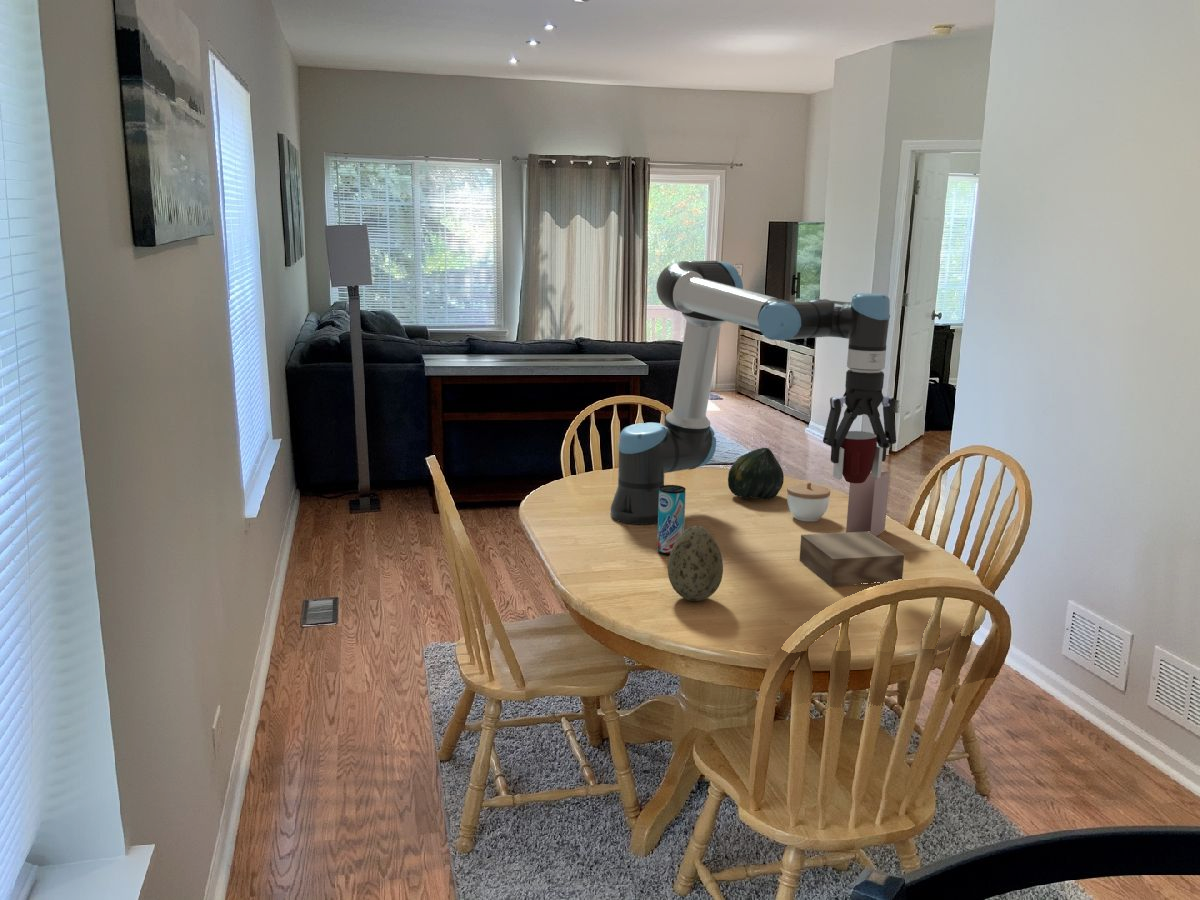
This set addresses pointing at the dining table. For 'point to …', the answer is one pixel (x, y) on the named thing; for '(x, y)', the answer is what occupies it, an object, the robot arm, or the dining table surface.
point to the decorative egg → (695, 564)
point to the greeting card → (868, 505)
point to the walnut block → (851, 558)
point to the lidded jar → (807, 501)
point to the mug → (858, 455)
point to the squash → (756, 475)
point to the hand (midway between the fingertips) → (856, 477)
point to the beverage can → (670, 517)
